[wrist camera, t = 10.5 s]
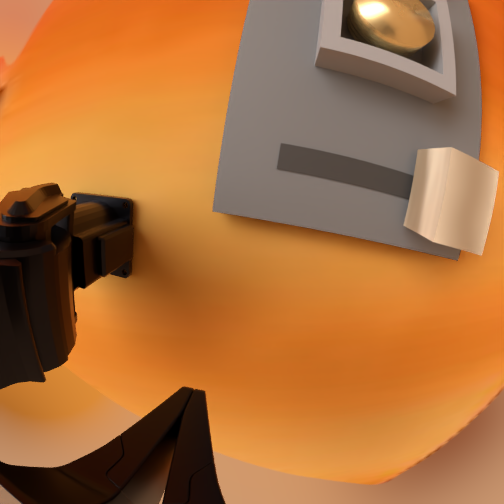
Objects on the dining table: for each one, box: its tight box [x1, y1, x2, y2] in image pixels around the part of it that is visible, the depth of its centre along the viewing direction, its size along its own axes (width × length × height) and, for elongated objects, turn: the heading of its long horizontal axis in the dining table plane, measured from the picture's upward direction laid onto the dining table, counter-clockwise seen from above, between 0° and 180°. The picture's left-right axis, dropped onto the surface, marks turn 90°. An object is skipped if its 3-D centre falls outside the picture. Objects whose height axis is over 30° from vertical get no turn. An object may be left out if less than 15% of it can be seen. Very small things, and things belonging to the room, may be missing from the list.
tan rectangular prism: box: [403, 147, 499, 256], centre depth 13 cm, size 4×5×4 cm
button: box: [347, 0, 435, 59], centre depth 10 cm, size 5×5×3 cm
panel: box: [213, 0, 482, 261], centre depth 12 cm, size 18×27×5 cm, turn 171°
